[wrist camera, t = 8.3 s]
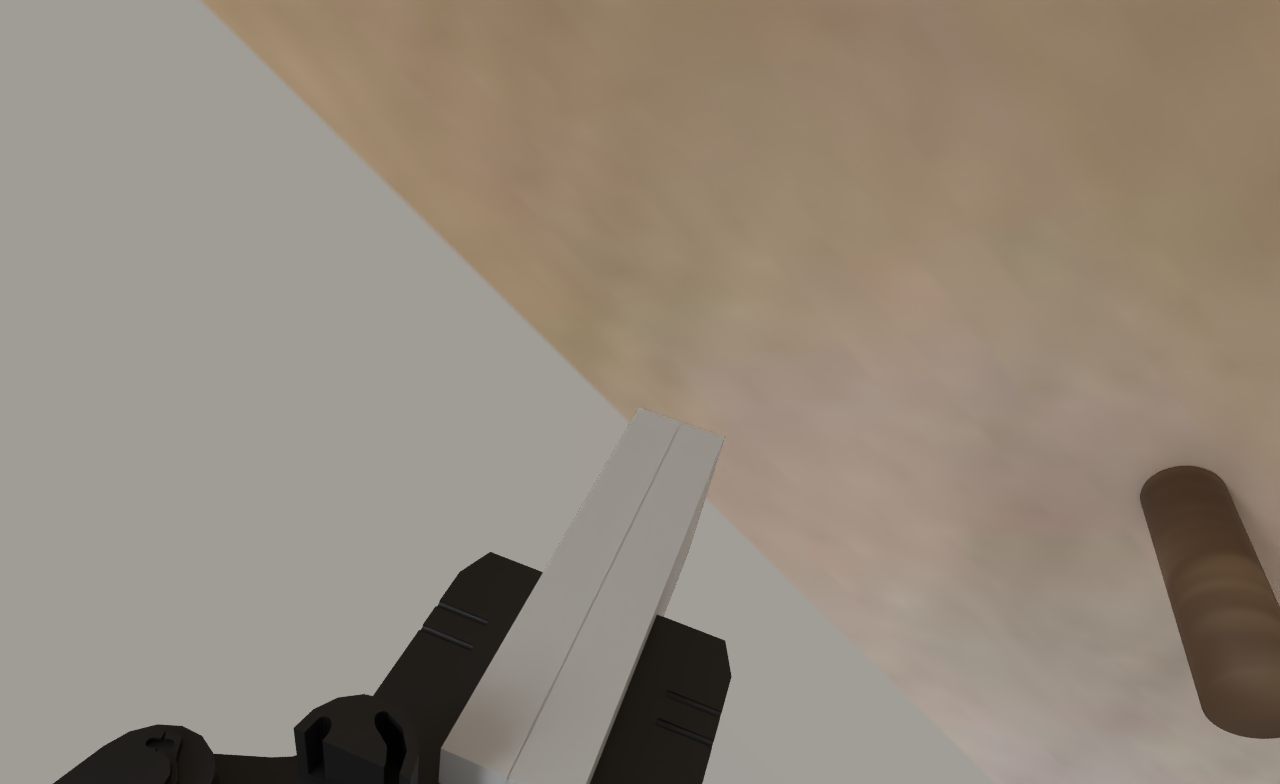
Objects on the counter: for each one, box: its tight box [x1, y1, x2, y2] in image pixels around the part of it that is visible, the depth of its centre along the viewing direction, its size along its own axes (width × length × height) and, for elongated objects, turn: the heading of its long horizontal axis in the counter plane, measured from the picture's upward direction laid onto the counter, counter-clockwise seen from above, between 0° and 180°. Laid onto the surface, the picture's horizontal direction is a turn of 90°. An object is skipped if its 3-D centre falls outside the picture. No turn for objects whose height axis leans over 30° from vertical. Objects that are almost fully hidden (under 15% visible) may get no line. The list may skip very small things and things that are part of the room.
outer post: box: [1140, 466, 1280, 739], centre depth 25 cm, size 3×3×9 cm
